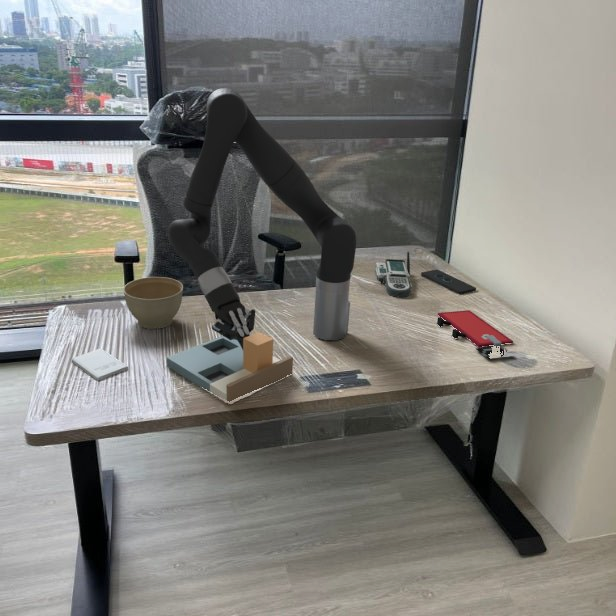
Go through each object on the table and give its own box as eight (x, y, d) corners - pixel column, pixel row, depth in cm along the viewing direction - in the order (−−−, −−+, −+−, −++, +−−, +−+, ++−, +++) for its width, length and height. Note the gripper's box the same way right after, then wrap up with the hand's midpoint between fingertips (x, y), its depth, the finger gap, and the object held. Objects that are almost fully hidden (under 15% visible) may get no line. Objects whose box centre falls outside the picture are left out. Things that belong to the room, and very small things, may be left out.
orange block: (258, 360, 148) (258, 331, 145) (272, 368, 145) (273, 339, 142) (243, 367, 145) (243, 338, 142) (257, 375, 142) (257, 345, 139)
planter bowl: (114, 329, 166) (111, 293, 162) (145, 307, 180) (143, 273, 176) (166, 339, 162) (164, 302, 158) (194, 316, 176) (193, 281, 172)
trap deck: (229, 341, 162) (229, 324, 160) (292, 375, 148) (293, 357, 146) (167, 366, 149) (166, 348, 147) (229, 405, 134) (229, 386, 132)
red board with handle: (482, 363, 158) (529, 357, 163) (483, 353, 157) (531, 348, 162) (426, 317, 184) (468, 314, 189) (427, 309, 183) (470, 306, 188)
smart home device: (437, 268, 220) (477, 287, 205) (436, 273, 221) (476, 292, 205) (420, 272, 216) (459, 291, 201) (419, 276, 217) (458, 296, 201)
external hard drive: (101, 353, 155) (128, 371, 147) (71, 364, 149) (98, 383, 141) (101, 347, 154) (128, 365, 146) (71, 358, 148) (97, 377, 141)
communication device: (378, 298, 197) (381, 273, 193) (373, 272, 218) (375, 249, 215) (415, 300, 197) (418, 275, 193) (406, 273, 218) (409, 250, 215)
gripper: (203, 289, 141) (236, 353, 139) (245, 276, 150) (278, 336, 148) (190, 302, 147) (222, 365, 144) (231, 289, 156) (263, 348, 153)
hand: (250, 350), depth 146 cm, fingers closed
